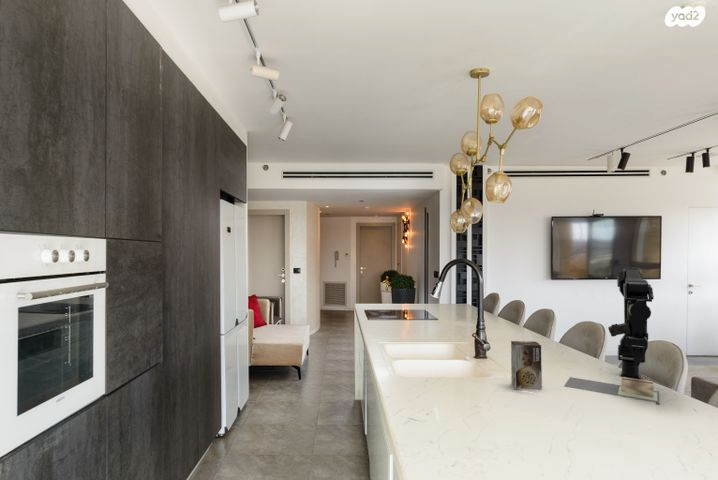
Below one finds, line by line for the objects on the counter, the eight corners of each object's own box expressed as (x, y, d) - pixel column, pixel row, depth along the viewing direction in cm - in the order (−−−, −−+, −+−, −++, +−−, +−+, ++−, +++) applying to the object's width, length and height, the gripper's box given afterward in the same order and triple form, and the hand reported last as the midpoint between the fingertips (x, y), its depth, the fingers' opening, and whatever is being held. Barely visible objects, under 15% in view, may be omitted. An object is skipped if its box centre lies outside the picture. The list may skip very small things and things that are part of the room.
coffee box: (536, 385, 154) (536, 341, 155) (542, 391, 148) (542, 345, 148) (510, 384, 155) (510, 340, 156) (515, 390, 149) (515, 344, 149)
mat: (570, 378, 163) (570, 376, 163) (658, 393, 147) (658, 391, 147) (563, 388, 152) (563, 386, 152) (659, 404, 136) (659, 402, 136)
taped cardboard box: (653, 393, 145) (653, 381, 145) (653, 397, 140) (653, 385, 141) (622, 388, 150) (622, 376, 150) (621, 392, 146) (621, 380, 146)
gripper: (611, 312, 158) (612, 354, 157) (607, 318, 143) (607, 364, 142) (648, 314, 152) (648, 358, 151) (647, 321, 136) (648, 370, 136)
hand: (637, 362), depth 145 cm, fingers open, 9 cm apart
